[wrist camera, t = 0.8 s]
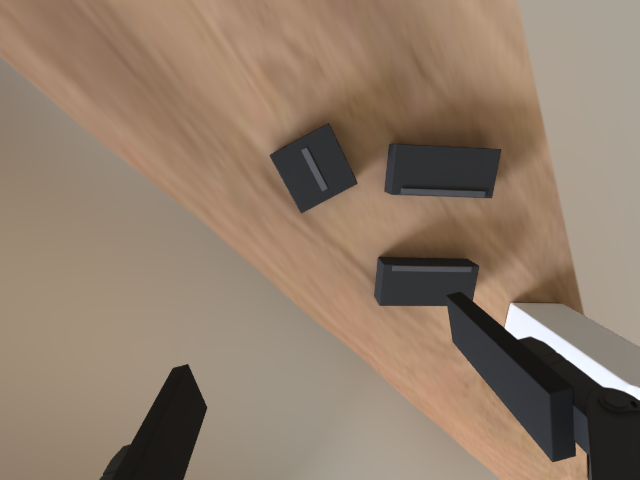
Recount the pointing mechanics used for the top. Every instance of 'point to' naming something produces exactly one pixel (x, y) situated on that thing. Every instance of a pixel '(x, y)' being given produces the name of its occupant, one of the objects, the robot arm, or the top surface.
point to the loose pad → (314, 168)
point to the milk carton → (580, 343)
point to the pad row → (433, 180)
